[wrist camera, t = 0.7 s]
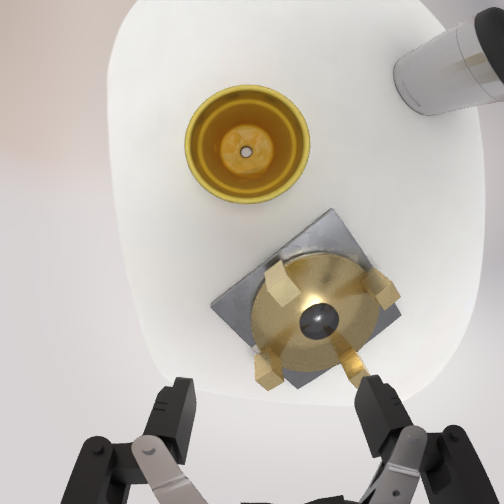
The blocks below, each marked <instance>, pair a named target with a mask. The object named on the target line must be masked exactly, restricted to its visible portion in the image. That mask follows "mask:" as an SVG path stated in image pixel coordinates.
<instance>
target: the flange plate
mask: <svg viewBox="0 0 504 504" xmlns="http://www.w3.org/2000/svg"><path fill="white" fill-rule="evenodd" d="M318 252H324V253H334V254H338V255H341V256H344V257H347V258H349V259H351V260H352V261H354V262H355V263H357V264H358V265H359V266H360V267H362V268H363V269H364V270H365V271H366V272H369V271H370V270H371V269H372V268H373V267H372V265H371V264H370V262H369V260H368V259H367V257H366V256H365V254H364V253H363V251H362V250H361V248H360V247H359V245H358V244H357V242H356V241H355V239H354V238H353V236H352V235H351V233H350V232H349V230H348V229H347V228H346V226H345V225H344V223H343V222H342V220H341V219H340V218H339V216H338V215H337V213H336V212H335V211H334V209H332V208H331V209H330V210H328V211H327V212H326V213H325V214H323V215H322V216H321V217H320V218H319V219H317V220H316V221H315V222H314V223H312V224H311V225H310V226H309V227H307V228H306V229H305V230H304V231H302V232H301V233H300V234H299V235H297V236H296V237H295V238H294V239H292V240H291V241H290V242H289V243H287V244H286V245H285V246H284V247H282V248H281V249H280V250H279V251H277V252H276V253H275V254H274V255H272V256H271V257H270V258H269V259H267V260H266V261H265V262H263V263H262V264H261V265H260V266H258V267H257V268H256V269H255V270H253V271H252V272H251V273H250V274H248V275H247V276H246V277H244V278H243V279H242V280H241V281H239V282H238V283H237V284H236V285H234V286H233V287H232V288H230V289H229V290H228V291H227V292H225V293H224V294H223V295H221V296H220V297H219V298H218V299H216V300H215V301H214V302H212V303H211V306H210V307H211V308H212V309H213V310H214V311H215V312H216V313H217V314H218V315H219V316H220V317H221V318H222V319H223V320H224V321H225V322H226V323H227V324H228V325H229V326H230V327H231V328H232V329H233V330H234V331H235V332H236V333H237V334H238V335H239V336H240V337H241V338H242V339H243V340H244V341H245V342H246V343H247V344H248V345H249V346H250V347H251V348H252V349H253V350H254V351H255V352H256V353H257V354H258V353H259V352H261V351H260V349H259V348H258V347H257V345H256V342H255V340H254V337H253V334H252V327H251V310H252V305H253V301H254V298H255V296H256V294H257V291H258V289H259V288H260V286H261V285H262V283H263V282H264V281H265V275H264V273H265V272H266V271H267V270H268V269H270V268H271V267H272V266H274V265H275V264H276V263H277V262H279V261H280V260H282V262H283V263H286V262H287V261H289V260H291V259H293V258H296V257H299V256H301V255H306V254H310V253H318ZM379 306H380V305H379ZM400 316H401V313H400V312H399V310H398V308H397V306H396V305H395V303H393V304H392V305H391V306H390V307H388V308H387V309H386V310H385V311H384V310H383V308H382V307H381V306H380V307H379V315H378V320H377V323H376V326H375V328H374V330H373V332H372V334H371V336H370V337H369V339H368V340H367V342H369V341H370V340H371V339H372V338H374V337H375V336H376V335H378V334H379V333H380V332H381V331H383V330H384V329H385V328H386V327H388V326H389V325H390V324H391V323H393V322H394V321H395V320H396V319H397V318H399V317H400ZM367 342H366V343H367ZM366 343H365V344H366ZM365 344H364V345H365ZM331 368H332V367H331ZM331 368H328V369H325V370H320V371H314V372H298V371H292V370H289V369H285V368H283V367H282V371H283V377H284V378H285V379H286V380H288V381H289V382H290V383H291V384H292V385H293V386H294V387H296V388H297V389H299V388H301V387H302V386H304V385H306V384H307V383H309V382H311V381H312V380H314V379H315V378H317V377H318V376H320V375H322V374H323V373H325V372H326V371H328V370H329V369H331Z"/></svg>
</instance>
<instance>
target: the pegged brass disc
mask: <svg viewBox="0 0 504 504" xmlns="http://www.w3.org/2000/svg"><path fill="white" fill-rule="evenodd" d="M264 275H265V281H264V282H263V283H262V285H261V286H260V288H259V289H258V291H257V294H256V296H255V298H254V301H253V305H252V310H251V327H252V334H253V337H254V340H255V342H256V345H257V347H258V348H259V349H260V351H261V352H259V353H258V354H256V355H255V356H254V360H255V381H256V382H258V383H259V384H260V385H261V386H262V387H264V388H265V389H266V390H267V391H269V390H271V389H273V388H274V387H276V386H278V385H280V384H281V383H283V382H284V377H283V371H282V367H283V368H285V369H289V370H292V371H298V372H314V371H320V370H325V369H328V368H331V367H334V366H336V365H338V364H340V363H341V364H342V366H343V368H344V371H345V373H346V375H347V377H348V379H349V381H350V382H351V383H352V384H353V385H354V386H355V387H356V388H359V385H360V382H361V379H362V377H364V376H371V375H370V373H369V371H368V370H367V368H366V366H365V364H364V363H363V361H362V359H361V357H360V356H359V355H358V353H357V352H358V351H359V350H360V349H361V348H362V347H363V345H364V344H365V343H366V342H367V340H368V339H369V337H370V336H371V334H372V332H373V330H374V328H375V326H376V323H377V320H378V315H379V307H380V306H381V307H382V308H383V310H384V311H385V310H386V309H387V308H388V307H390V306H391V305H392V304H393V303H394V302H395V301H397V300H398V299H399V298H400V295H399V293H398V291H397V289H396V288H395V286H394V284H393V282H392V281H390V280H389V279H388V278H387V277H385V276H384V275H383V274H382V273H381V272H379V271H378V270H377V269H376V268H374V267H373V268H372V269H371V270H370V271H369V272H366V271H365V270H364V269H363V268H362V267H360V266H359V265H358V264H357V263H355V262H354V261H352V260H351V259H349V258H347V257H344V256H341V255H338V254H334V253H324V252H318V253H310V254H306V255H301V256H299V257H296V258H293V259H291V260H289V261H287V262H286V263H283V262H282V260H280V261H279V262H277V263H276V264H275V265H274V266H272V267H271V268H270V269H268V270H267V271H266V272H265V273H264ZM379 305H380V306H379Z"/></svg>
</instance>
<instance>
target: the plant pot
mask: <svg viewBox="0 0 504 504" xmlns="http://www.w3.org/2000/svg"><path fill="white" fill-rule="evenodd" d="M244 147H250V148H251V150H252V154H251V155H250V156H249V157H243V156H242V155H241V149H242V148H244ZM309 152H310V135H309V130H308V127H307V124H306V121H305V119H304V117H303V115H302V114H301V112H300V111H299V109H298V108H297V107H296V106H295V105H294V104H293V103H292V102H291V101H290V100H289V99H288V98H287V97H285V96H284V95H282V94H281V93H279V92H277V91H275V90H272V89H270V88H267V87H263V86H258V85H239V86H233V87H230V88H227V89H224V90H222V91H219V92H217V93H216V94H214V95H212V96H211V97H210V98H208V99H207V100H206V101H205V102H203V103H202V104H201V105H200V107H199V108H198V109H197V110H196V112H195V113H194V115H193V116H192V118H191V120H190V122H189V125H188V127H187V130H186V135H185V155H186V159H187V163H188V166H189V168H190V170H191V172H192V174H193V176H194V177H195V179H196V180H197V181H198V182H199V183H200V185H201V186H202V187H203V188H205V189H206V190H207V191H208V192H210V193H211V194H213V195H214V196H216V197H218V198H220V199H223V200H225V201H229V202H232V203H239V204H255V203H261V202H265V201H268V200H271V199H273V198H275V197H277V196H279V195H281V194H282V193H284V192H285V191H287V190H288V189H289V188H290V187H291V186H292V185H293V184H294V183H295V182H296V181H297V180H298V179H299V177H300V176H301V174H302V172H303V171H304V169H305V166H306V164H307V161H308V157H309Z"/></svg>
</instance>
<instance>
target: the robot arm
mask: <svg viewBox="0 0 504 504" xmlns="http://www.w3.org/2000/svg"><path fill="white" fill-rule="evenodd" d="M394 80H395V84H396V87H397V89H398V91H399V93H400V95H401V96H402V98H403V99H404V100H405V102H406V103H407V104H408V105H409V106H410V107H411V108H412V109H414V110H415V111H417V112H419V113H421V114H423V115H435V114H439V113H444V112H449V111H454V110H458V109H463V108H468V107H473V106H478V105H484V104H490V103H496V102H502V101H504V10H502V9H500V8H496V7H493V8H488V9H486V10H484V11H482V12H480V13H478V14H476V15H474V16H472V17H470V18H468V19H466V20H464V21H462V22H461V23H459V24H457V25H456V26H454V27H452V28H450V29H448V30H447V31H445V32H443V33H441V34H440V35H438V36H436V37H435V38H433V39H431V40H430V41H428V42H426V43H425V44H423V45H421V46H420V47H418V48H417V49H415V50H413V51H412V52H410V53H409V54H407V55H405V56H404V57H402V58H401V59H399V61H398V62H397V63H396V65H395V68H394ZM354 404H355V410H356V412H357V415H358V418H359V421H360V423H361V426H362V429H363V432H364V434H365V437H366V440H367V443H368V446H369V448H370V452H371V454H372V457H373V458H376V457H380V456H381V458H382V461H381V463H380V465H379V467H378V469H377V471H376V473H375V475H374V477H373V479H372V481H371V483H370V485H369V487H368V489H367V490H366V492H365V494H364V495H363V496H362V498H361V499H360V501H359V502H354V501H348V500H344V497H343V495H340V496H335V497H329V498H321V499H317V500H314V501H311V502H308V503H305V504H410V503H411V500H412V497H413V495H414V492H415V490H416V487H417V484H418V482H419V478H420V475H421V478H422V481H423V484H424V487H425V490H426V493H427V496H428V500H429V503H430V504H499V501H498V499H497V497H496V494H495V492H494V489H493V487H492V485H491V483H490V480H489V478H488V476H487V474H486V472H485V470H484V467H483V465H482V463H481V461H480V459H479V457H478V455H477V453H476V451H475V449H474V447H473V445H472V443H471V441H470V440H469V438H468V436H467V434H466V432H465V431H464V429H463V428H462V427H460V426H457V425H450V426H447V427H446V428H445V429H444V430H443V432H442V433H426V431H425V430H424V429H423V428H421V427H419V426H415V425H413V423H412V421H411V419H410V417H409V415H408V413H407V411H406V410H405V408H404V406H403V404H402V402H401V400H400V398H398V395H397V393H396V391H395V389H394V388H392V387H391V386H390V385H389V384H388V383H386V384H383V382H382V380H381V378H380V377H379V375H372V376H364V377H362V379H361V382H360V385H359V388H358V391H357V394H356V396H355V402H354ZM195 412H196V396H195V389H194V383H193V379H192V378H182V377H176V379H175V382H174V385H173V387H167V386H165V387H164V388H163V389H162V390H161V391H160V392H159V393H158V395H157V398H156V400H155V403H154V406H153V410H152V411H151V414H150V417H149V419H148V422H147V425H146V428H145V430H144V433H143V435H142V436H140V437H139V438H137V439H136V440H134V442H131V443H125V444H124V443H120V444H111V442H110V441H109V440H108V439H106V438H104V437H101V436H94V437H91V438H89V439H87V440H86V441H85V442H84V444H83V446H82V449H81V451H80V454H79V456H78V458H77V461H76V463H75V466H74V469H73V471H72V474H71V476H70V479H69V482H68V484H67V487H66V490H65V492H64V495H63V498H62V501H61V504H126V503H127V499H128V495H129V490H130V486H131V484H149V485H150V487H151V489H152V491H153V493H154V494H155V496H156V498H157V500H158V501H159V503H160V504H208V503H207V502H206V500H205V499H204V498H203V497H202V495H201V494H200V493H199V491H198V490H197V489H196V488H195V486H194V485H193V484H192V482H191V481H190V480H189V479H188V478H187V477H186V476H185V475H184V474H183V472H182V471H181V469H180V468H179V466H178V464H181V465H185V461H186V456H187V451H188V445H189V441H190V436H191V431H192V427H193V422H194V417H195ZM241 504H271V503H241Z"/></svg>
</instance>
